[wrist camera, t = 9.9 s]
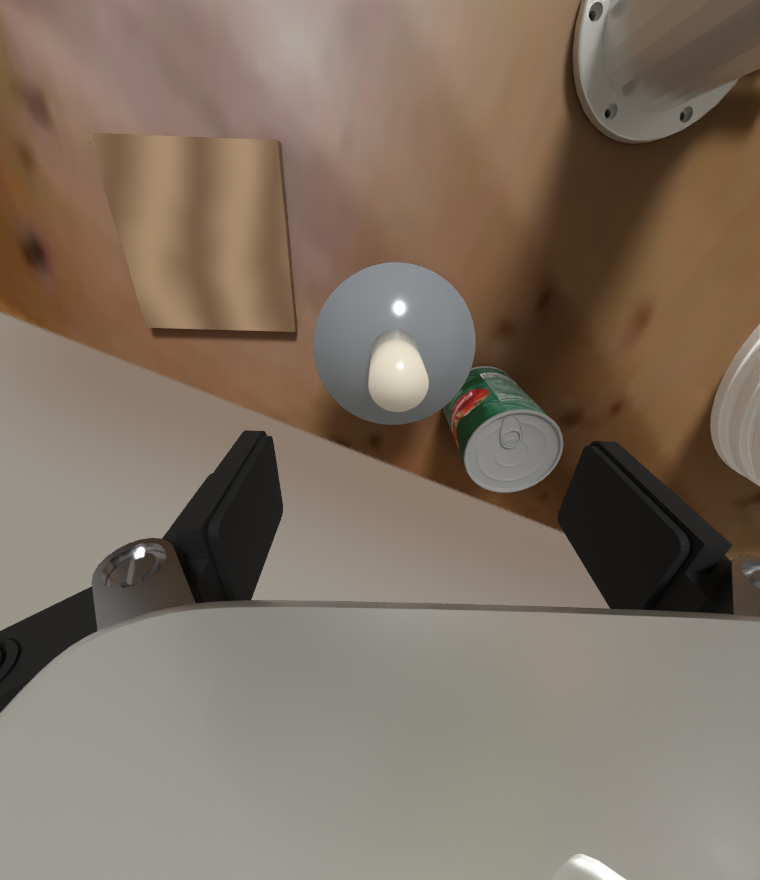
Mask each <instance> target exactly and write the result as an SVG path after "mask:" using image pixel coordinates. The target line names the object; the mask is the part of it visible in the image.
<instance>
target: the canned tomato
mask: <svg viewBox="0 0 760 880" xmlns="http://www.w3.org/2000/svg"><path fill="white" fill-rule="evenodd" d="M443 410H444V414H445V417H446V418H447V421H448V424H449V426H450V429H451V431H452V434H453V436H454V439H455V442H456V444H457V447H458V449H459V452H460V454H461V457H462V460H463V462H464V465H465V468H466V471H467V473H468V475H469V476H470V478H471V479H472V480H473V481H474V482H475V483H476V484H477V485H479V486H481V487H482V488H484V489H487V490H490V491H494V492H515V491H520V490H523V489H526V488H529V487H531V486H533V485H535V484H537V483H538V482H540V481H541V480H543V479H544V478H545V477H546V476H547V475H549V474H550V473H551V471H552V470H553V469H554V468H555V467H556V465H557V463H558V461H559V460H560V457H561V454H562V451H563V437H562V433H561V431H560V429H559V427H558V425H557V424H556V423H555V422H554V421H553V420H552V419H551V418H550V417H548V416H547V415H546V413H545V412H544V411H543V410H542V409H541V408H540V407H539V406H538V405H537V404H536V403H535V402H534V401H533V400H532V399H531V398H530V397H529V396H528V395H527V394H526V393H525V392H524V391H523V390H522V389H521V388H520V387H519V386H518V385H517V384H516V383H515V382H514V381H513V380H512V379H511V378H510V376H509V375H508V374H506V373H505V372H504V371H502V370H500V369H498V368H495V367H490V366H480V367H474V368H471V370H470V373H469V375H468V377H467V379H466V381H465V383H464V385H463V386H462V388H461V389H460V391H459V392H458V393H457V395H456V396H455V397H454V398H453V399H452V400H451V401H450V402H449V403H448V404H447V405H446V406H445V407H443Z"/></svg>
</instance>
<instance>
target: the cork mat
mask: <svg viewBox="0 0 760 880" xmlns="http://www.w3.org/2000/svg"><path fill="white" fill-rule="evenodd" d="M88 135H89V138H90V142H91V145H92V148H93V152H94V155H95V158H96V162H97V165H98V168H99V172H100V175H101V178H102V182H103V185H104V188H105V192H106V195H107V198H108V202H109V205H110V208H111V212H112V215H113V218H114V222H115V225H116V228H117V232H118V235H119V238H120V242H121V245H122V248H123V252H124V255H125V258H126V262H127V265H128V268H129V272H130V275H131V278H132V282H133V285H134V288H135V292H136V295H137V298H138V302H139V305H140V308H141V312H142V315H143V318H144V322H145V325H146V328H176V329H211V330H246V331H281V332H296V331H297V319H296V307H295V296H294V285H293V273H292V262H291V251H290V239H289V228H288V217H287V205H286V194H285V183H284V171H283V160H282V149H281V143H280V142H279V141H278V140H262V139H235V138H208V137H181V136H155V135H128V134H101V133H88Z"/></svg>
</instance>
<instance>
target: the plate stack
mask: <svg viewBox="0 0 760 880" xmlns="http://www.w3.org/2000/svg"><path fill="white" fill-rule="evenodd" d="M710 427H711V437H712V441H713V444H714V447H715V449H716V451H717V453H718V455H719V456H720V458H721V459H722V460H723V461H724V462H725V463H726V464H727V465H728V466H729V467H730V468H732V469H733V470H735V471H736V472H738V473H739V474H741V475H743V476H744V477H746V478H748V479H749V480H751V481H752V482H753V483H755V484H757V485H758V486H760V324H759V325H758V327H757V328H756V329H755V330H754V331H753V332H752V334H751V335H750V336H749V337H748V339H747V340H746V341H745V343H744V344H743V345H742V347H741V348H740V349H739V351H738V352H737V354H736V355H735V357H734V358H733V360H732V362H731V363H730V365H729V367H728V369H727V370H726V372H725V374H724V376H723V378H722V380H721V383H720V385H719V387H718V390H717V393H716V396H715V399H714V403H713V407H712V412H711V422H710Z"/></svg>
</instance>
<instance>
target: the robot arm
mask: <svg viewBox="0 0 760 880" xmlns="http://www.w3.org/2000/svg"><path fill="white" fill-rule="evenodd" d="M589 15H591V16H592V21H591V20H590V18H589ZM758 69H760V0H582V1H581V5H580V9H579V14H578V18H577V22H576V26H575V35H574V43H573V75H574V80H575V86H576V91H577V95H578V98H579V100H580V103H581V105H582V108H583V111H584V112H585V114H586V115H587V117H588V118H589V120H590V121H591V123H592V124H593V125H594V126H595V127H596V128H597V129H598V130H599V131H600V132H602V133H603V134H604V135H606V136H608V137H610V138H612V139H614V140H616V141H619V142H625V143H631V144H636V143H648V142H652V141H655V140H658V139H661V138H664V137H667V136H669V135H672V134H674V133H676V132H679V131H681V130H683V129H685V128H686V127H688V126H689V125H691V124H693V123H694V122H696V121H697V120H699V119H700V118H701V117H703V116H704V115H705V114H706V113H707V112H709V111H710V110H711V109H712V108H713V107H714V106H716V105H717V104H718V103H719V102H720V101H721V99H722V98H723V97H724V96H725V95H726V94H727V93H728V92H729V91H730V90H731V89H732V87H733V86H734V85H735V84H736V82H737V81H738V80H739V78H740V77H743V76H745V75H747V74H749V73H751V72H753V71H756V70H758ZM605 112H607V117H605ZM282 513H283V503H282V496H281V489H280V483H279V476H278V470H277V463H276V456H275V450H274V444H273V439H272V437H271V436H267V435H266V433H265V432H264V431H244V432H243V433H242V434H241V435H240V437H239V438H238V440H237V441H236V442H235V444H234V445H233V446H232V448H231V449H230V451H229V452H228V453H227V455H226V456H225V458H224V459H223V460H222V462H221V463H220V464H219V466H218V467H217V468H216V470H215V471H214V473H212V474H210V475H209V476H208V477H207V479H206V480H205V481H204V483H203V484H202V485H201V487H200V488H199V489H198V491H197V492H196V493H195V495H194V496H193V498H192V499H191V500H190V502H189V503H188V504H187V506H186V507H185V508H184V510H183V511H182V512H181V514H180V515H179V517H178V518H177V519H176V521H175V522H174V523H173V525H172V526H171V528H170V529H169V530H168V531H167V533H166V534H165V536H164V537H163V538H162V539H160V538H147V539H141V540H137V541H134V542H131V543H128V544H126V545H124V546H122V547H121V548H118V549H117V550H115V551H114V552H112V553H111V554H110V555H108V556H107V557H106V558H105V559H104V560H103V561H102V562H101V563H100V564H99V565H98V566H97V568H96V570H95V572H94V573H93V577H92V587H90V588H88V589H86V590H83V591H81V592H79V593H77V594H75V595H73V596H72V597H69V598H67V599H65V600H63V601H61V602H59V603H57V604H55V605H53V606H51V607H49V608H47V609H44V610H43V611H40V612H38V613H36V614H34V615H32V616H30V617H28V618H26V619H24V620H22V621H20V622H18V623H16V624H14V625H12V626H10V627H8V628H6V629H4V630H2V631H0V880H760V557H755V556H750V555H744V556H738V557H736V558H734V559H733V560H732V561H730V560H729V559H728V558H727V557H726V556H725V554H726V553H727V551H728V550H729V549H730V548H731V546H732V544H731V543H729V542H728V541H727V540H726V539H725V538H724V537H723V536H722V535H720V534H719V533H718V532H717V531H716V530H715V529H714V528H713V527H711V526H710V525H709V524H708V523H707V522H706V521H705V520H704V519H702V518H701V517H700V516H699V515H698V514H697V513H696V512H695V511H693V510H692V509H691V508H690V507H689V506H688V505H687V504H686V503H684V502H683V501H682V500H681V499H680V498H679V497H678V496H676V495H675V494H674V493H673V492H672V491H671V490H670V489H669V488H667V487H666V486H665V485H664V484H663V483H662V482H661V481H660V480H658V479H657V478H656V477H655V476H654V475H653V474H652V473H651V472H649V471H648V470H647V469H646V468H645V467H644V466H643V465H642V464H640V463H639V462H638V461H637V460H636V459H635V458H634V457H633V456H631V455H630V454H629V453H628V452H627V451H626V450H625V449H624V448H622V447H621V446H620V445H619V444H618V443H616V442H602V441H594V442H592V443H591V444H590V445H589V446H586V447H585V448H584V449H583V451H582V454H581V457H580V459H579V462H578V464H577V467H576V469H575V472H574V475H573V477H572V480H571V482H570V485H569V487H568V490H567V493H566V495H565V498H564V500H563V503H562V505H561V508H560V511H559V514H558V521H559V524H560V526H561V528H562V530H563V531H564V533H565V535H566V536H567V538H568V540H569V541H570V543H571V544H572V546H573V548H574V549H575V551H576V553H577V554H578V556H579V558H580V559H581V561H582V563H583V564H584V566H585V567H586V569H587V571H588V573H589V574H590V576H591V578H592V579H593V581H594V583H595V584H596V586H597V587H598V589H599V591H600V592H601V594H602V596H603V597H604V599H605V601H606V602H607V604H608V606H609V607H610V609H599V608H571V607H570V608H569V607H542V606H540V607H539V606H508V605H473V604H437V603H396V602H395V603H394V602H352V601H288V600H287V601H286V600H284V601H283V600H280V601H279V600H277V601H276V600H251V599H252V596H253V593H254V591H255V588H256V585H257V582H258V579H259V577H260V574H261V572H262V569H263V566H264V563H265V561H266V558H267V555H268V552H269V550H270V547H271V544H272V542H273V539H274V536H275V534H276V531H277V528H278V525H279V523H280V520H281V517H282Z"/></svg>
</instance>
